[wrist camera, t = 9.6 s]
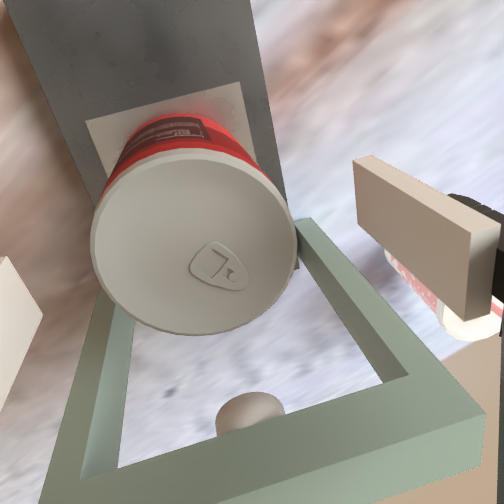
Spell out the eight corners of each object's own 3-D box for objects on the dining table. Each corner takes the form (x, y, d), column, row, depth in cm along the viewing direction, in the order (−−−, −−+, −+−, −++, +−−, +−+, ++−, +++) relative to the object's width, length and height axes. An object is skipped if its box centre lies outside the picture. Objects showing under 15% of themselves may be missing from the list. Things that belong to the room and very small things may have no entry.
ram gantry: (103, 276, 28) (19, 569, 12) (310, 217, 29) (486, 413, 13) (118, 309, 30) (62, 610, 14) (316, 251, 31) (480, 465, 15)
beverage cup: (368, 276, 33) (486, 405, 21) (384, 208, 31) (529, 310, 18) (432, 274, 35) (579, 394, 22) (452, 208, 32) (631, 303, 20)
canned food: (221, 248, 27) (251, 355, 17) (103, 209, 24) (61, 310, 15) (269, 144, 24) (336, 202, 15) (143, 87, 22) (124, 112, 12)
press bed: (13, -3, 21) (-3, -9, 19) (232, -54, 22) (238, -64, 20) (143, 299, 30) (141, 316, 28) (291, 256, 31) (300, 269, 29)
